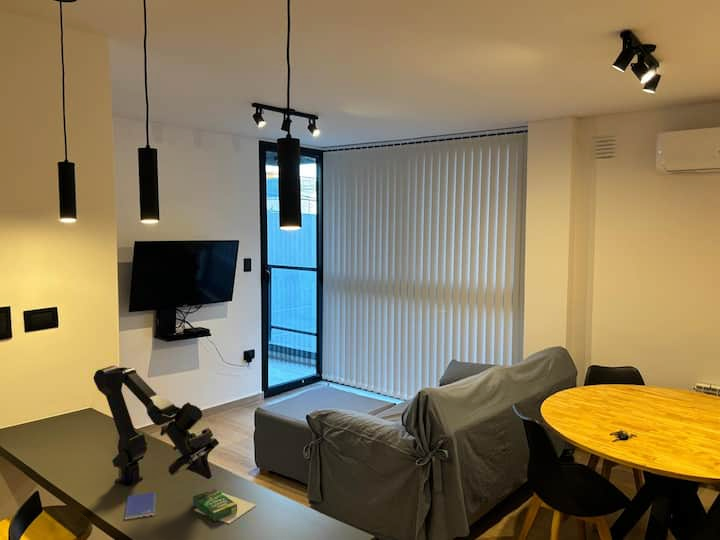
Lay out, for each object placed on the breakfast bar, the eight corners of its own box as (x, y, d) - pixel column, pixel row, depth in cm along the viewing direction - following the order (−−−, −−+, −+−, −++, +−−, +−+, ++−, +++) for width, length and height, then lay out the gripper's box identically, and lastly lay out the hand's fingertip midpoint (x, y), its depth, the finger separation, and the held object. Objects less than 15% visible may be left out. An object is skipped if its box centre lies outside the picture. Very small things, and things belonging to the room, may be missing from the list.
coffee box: (216, 487, 175) (237, 503, 166) (216, 496, 176) (237, 512, 166) (192, 495, 170) (213, 512, 160) (192, 504, 170) (213, 522, 161)
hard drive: (154, 511, 164) (155, 492, 176) (124, 516, 162) (127, 495, 173) (154, 516, 164) (155, 496, 176) (124, 521, 162) (127, 500, 173)
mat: (194, 510, 167) (194, 509, 167) (222, 493, 178) (222, 492, 178) (229, 524, 160) (229, 523, 160) (256, 505, 171) (256, 504, 171)
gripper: (175, 434, 164) (206, 476, 161) (214, 413, 181) (242, 452, 178) (155, 454, 168) (184, 497, 165) (194, 432, 185) (222, 470, 182)
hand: (210, 477), depth 172 cm, fingers closed
